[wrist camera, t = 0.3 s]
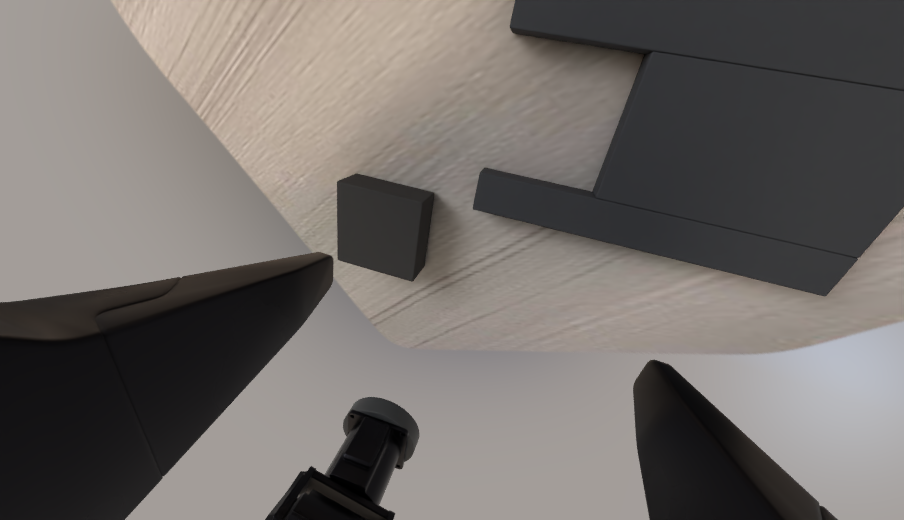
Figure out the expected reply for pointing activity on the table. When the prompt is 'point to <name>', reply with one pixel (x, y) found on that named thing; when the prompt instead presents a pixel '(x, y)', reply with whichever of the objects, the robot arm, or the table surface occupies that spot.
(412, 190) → the black block
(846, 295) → the table surface
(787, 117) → the mat
